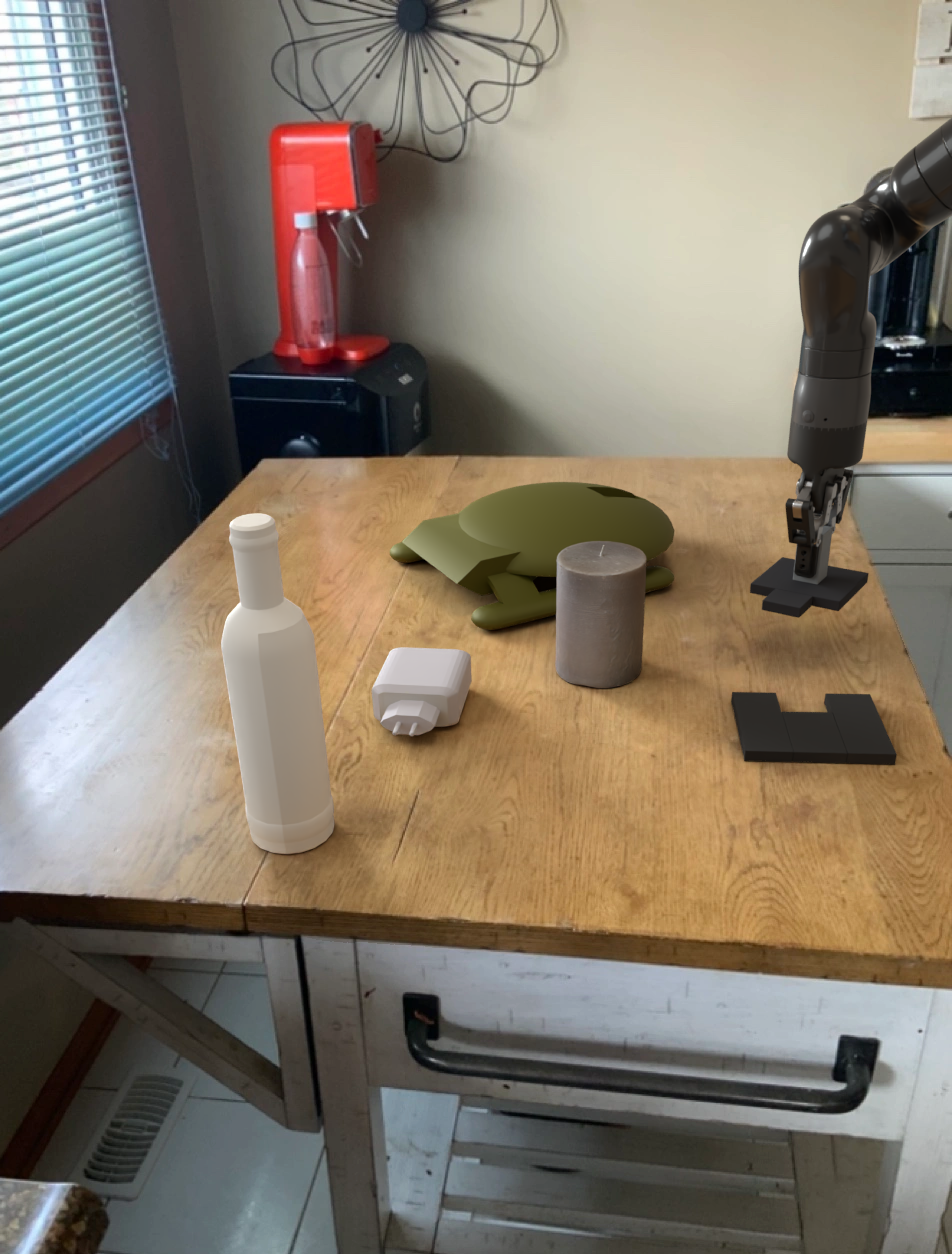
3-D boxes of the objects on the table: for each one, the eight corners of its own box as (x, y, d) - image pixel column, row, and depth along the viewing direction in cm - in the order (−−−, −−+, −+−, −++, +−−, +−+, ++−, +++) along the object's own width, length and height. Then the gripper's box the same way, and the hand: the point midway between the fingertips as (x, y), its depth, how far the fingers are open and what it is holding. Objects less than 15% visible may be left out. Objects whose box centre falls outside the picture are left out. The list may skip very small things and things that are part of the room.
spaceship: (483, 638, 137) (481, 563, 132) (384, 558, 161) (379, 491, 157) (719, 579, 148) (725, 508, 143) (593, 512, 173) (595, 449, 168)
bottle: (333, 801, 108) (300, 499, 93) (338, 850, 101) (304, 532, 86) (249, 811, 107) (202, 508, 92) (249, 860, 100) (198, 542, 85)
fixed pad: (868, 703, 118) (870, 693, 118) (895, 764, 108) (897, 754, 107) (731, 701, 120) (732, 691, 120) (744, 761, 110) (745, 750, 109)
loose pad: (867, 582, 127) (876, 523, 123) (826, 624, 118) (834, 561, 115) (781, 566, 132) (787, 509, 129) (735, 604, 124) (740, 544, 120)
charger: (360, 752, 115) (391, 683, 128) (449, 758, 113) (472, 687, 126) (356, 712, 113) (388, 646, 126) (447, 717, 111) (470, 649, 124)
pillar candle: (616, 644, 134) (621, 523, 126) (657, 679, 125) (664, 553, 118) (540, 660, 131) (541, 537, 124) (577, 696, 123) (580, 568, 116)
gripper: (841, 437, 110) (820, 599, 119) (888, 403, 119) (866, 556, 128) (767, 428, 114) (752, 586, 123) (818, 396, 124) (801, 544, 132)
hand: (810, 569), depth 125 cm, fingers closed on loose pad, 3 cm apart
